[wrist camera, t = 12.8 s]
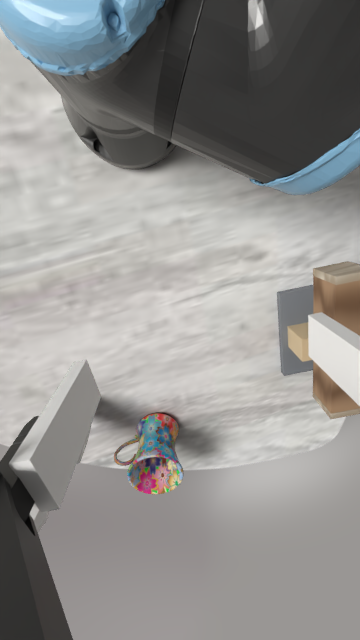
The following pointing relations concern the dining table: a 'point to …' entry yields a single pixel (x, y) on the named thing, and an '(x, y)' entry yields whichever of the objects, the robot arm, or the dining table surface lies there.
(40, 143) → the dining table surface
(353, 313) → the beam
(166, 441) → the mug
